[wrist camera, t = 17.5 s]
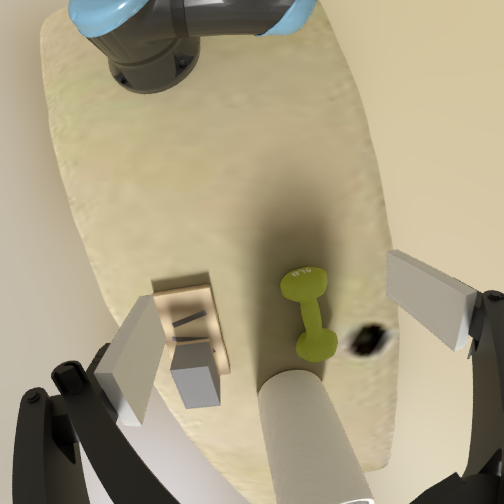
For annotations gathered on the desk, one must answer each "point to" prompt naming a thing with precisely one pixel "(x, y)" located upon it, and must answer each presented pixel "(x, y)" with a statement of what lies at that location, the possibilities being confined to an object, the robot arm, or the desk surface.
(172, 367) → the block
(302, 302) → the dumbbell
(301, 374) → the vase
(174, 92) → the desk surface
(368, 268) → the desk surface
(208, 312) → the board
